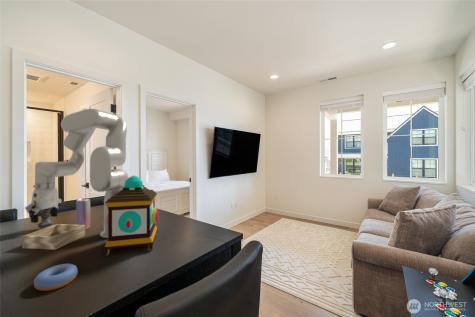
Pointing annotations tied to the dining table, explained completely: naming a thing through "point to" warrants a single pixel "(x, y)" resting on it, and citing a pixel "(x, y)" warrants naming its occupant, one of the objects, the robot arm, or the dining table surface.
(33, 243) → the box
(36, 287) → the doughnut
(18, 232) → the dining table surface
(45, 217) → the salt shaker
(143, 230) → the decorative lantern
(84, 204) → the beverage can
